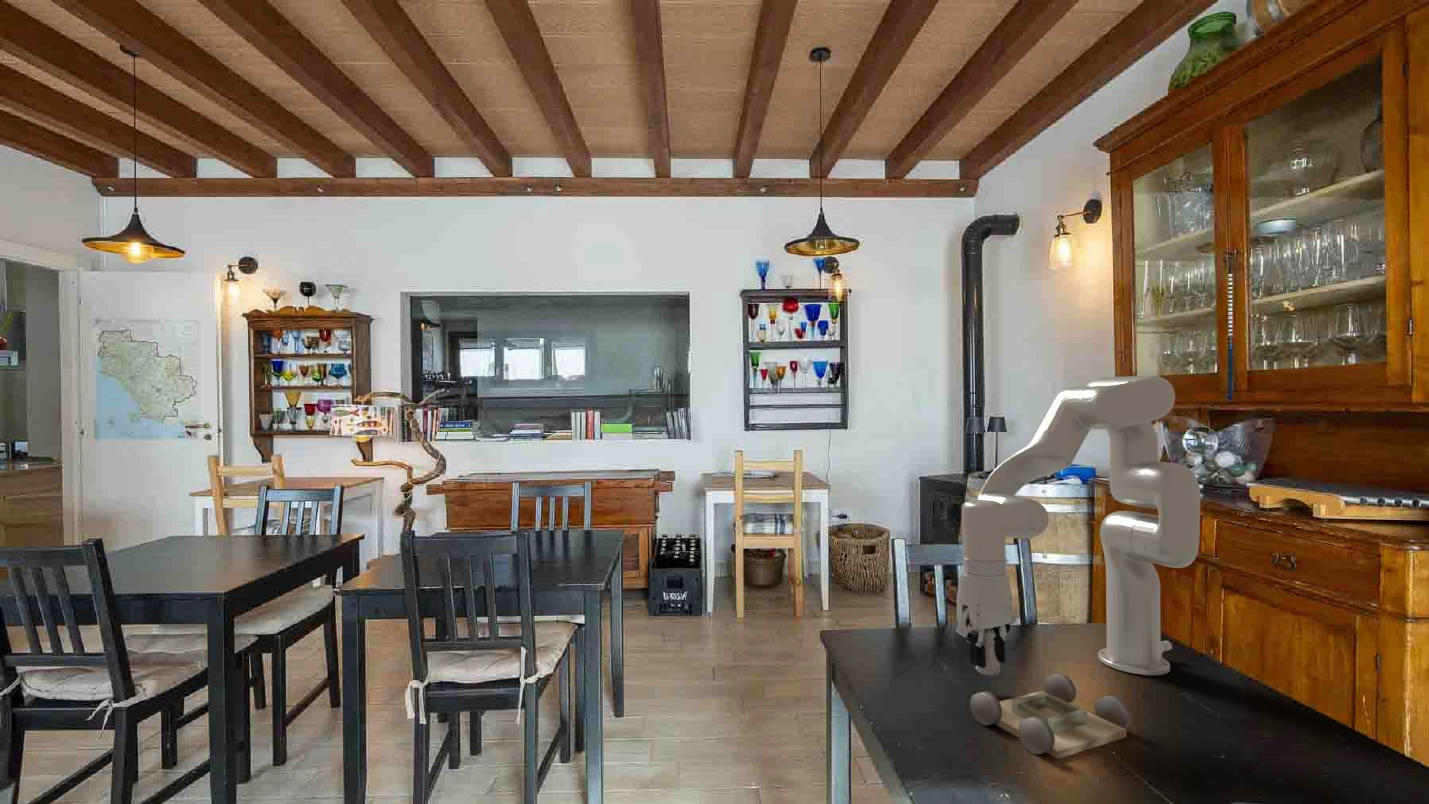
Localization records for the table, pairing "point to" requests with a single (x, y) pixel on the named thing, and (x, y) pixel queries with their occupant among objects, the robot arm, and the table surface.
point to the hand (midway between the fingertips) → (987, 661)
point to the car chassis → (1054, 718)
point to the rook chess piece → (989, 654)
